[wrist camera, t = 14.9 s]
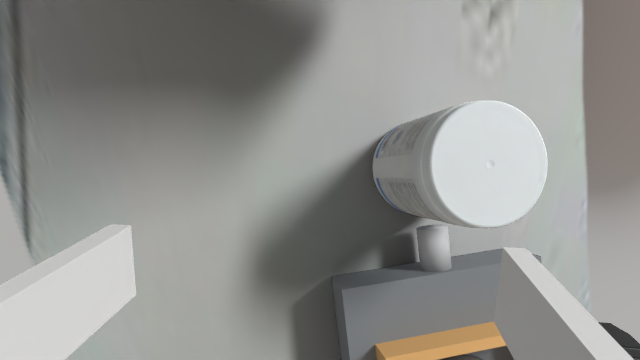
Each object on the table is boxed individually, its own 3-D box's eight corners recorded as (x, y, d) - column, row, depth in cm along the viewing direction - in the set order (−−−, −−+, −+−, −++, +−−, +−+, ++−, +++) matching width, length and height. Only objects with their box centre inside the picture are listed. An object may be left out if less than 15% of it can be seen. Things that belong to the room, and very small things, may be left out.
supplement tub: (460, 207, 46) (557, 224, 32) (374, 218, 45) (435, 243, 30) (451, 116, 46) (545, 92, 32) (364, 125, 44) (421, 104, 30)
